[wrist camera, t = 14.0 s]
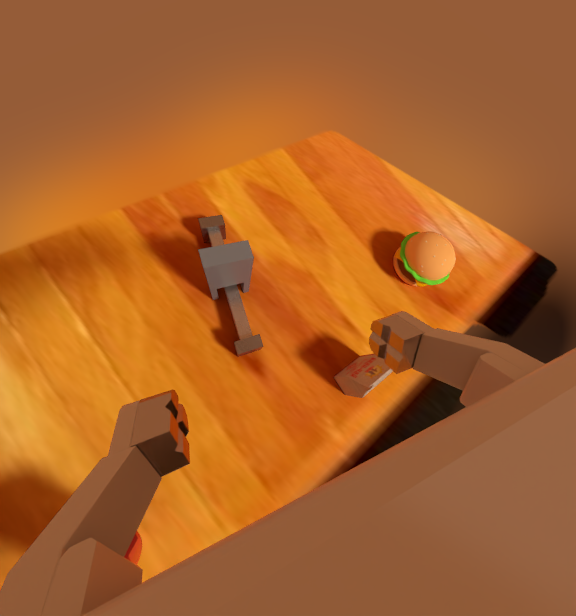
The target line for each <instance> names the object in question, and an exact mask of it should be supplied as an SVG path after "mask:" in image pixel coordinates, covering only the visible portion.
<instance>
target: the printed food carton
mask: <svg viewBox="0 0 576 616" xmlns="http://www.w3.org/2000/svg"><path fill="white" fill-rule="evenodd" d="M392 371H393V370H391V369H390V368H389V367H388V366H387V365H386V364H385V361H384V359H383V358H380V357H377V356H376V355H375V354H369V355H363V356H359V357H358V358H357V359H355V360H354V361H353V362H352V363H350V364H349V365H348V366H347V367H345V368H344V369H343V370H342V371H340V372H339V373H338V374H336V375H335V376H334V379H335V380H336V382H337V383H338V385H339V386H340V388H341V389H342V391H343V392H344V394H345V395H348V396H354V397H360V398H363V397H364V396H365V395H366V394H367V393H368V392H370V391H371V390H372V389H373V388H374V387H375V386H376V385H378V384H379V383H380V382H381V381H382V380H383V379H384V378H386V377H387V376H388V375H389V374H390V373H391V372H392Z"/></svg>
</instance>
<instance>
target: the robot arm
mask: <svg viewBox="0 0 576 616" xmlns="http://www.w3.org/2000/svg"><path fill="white" fill-rule="evenodd" d="M371 330H372V331H373V333H372V334H371V336H370V337H369V345H370V348H371V350H372V351H373V353H374V354H375V355H376V356H377V357H380V358H383V359H384V361H385V364H386V365H387V366H388V367H389V368H390V369H391V370H393V371H394V372H395V373H396V374H398V373H400V372H403V371H405V370H408V369H410V368H413V369H415V370H417V371H419V372H422V373H424V374H426V375H429V376H431V377H433V378H435V379H438V380H440V381H442V382H445V383H447V384H449V385H452V386H454V387H456V388H459V389H461V390H463V393H462V395H461V397H460V402H461V403H462V404H463V405H465V406H466V408H464V409H462V410H460V411H459V412H457V413H455V414H453V415H451V416H449V417H447V418H445V419H444V420H442V421H440V422H438V423H436V424H434V425H432V426H431V427H429V428H427V429H425V430H423V431H421V432H420V433H418V434H416V435H414V436H412V437H410V438H408V439H407V440H405V441H403V442H401V443H399V444H397V445H396V446H394V447H392V448H390V449H388V450H386V451H385V452H383V453H381V454H379V455H377V456H375V457H373V458H372V459H370V460H368V461H366V462H364V463H362V464H361V465H359V466H357V467H355V468H353V469H351V470H349V471H348V472H346V473H344V474H342V475H340V476H338V477H337V478H335V479H333V480H331V481H329V482H327V483H325V484H324V485H322V486H320V487H318V488H316V489H314V490H313V491H311V492H309V493H307V494H305V495H303V496H301V497H300V498H298V499H296V500H294V501H292V502H290V503H289V504H287V505H285V506H283V507H281V508H279V509H278V510H276V511H274V512H272V513H270V514H268V515H266V516H265V517H263V518H261V519H259V520H257V521H255V522H254V523H252V524H250V525H248V526H246V527H244V528H242V529H241V530H239V531H237V532H235V533H233V534H231V535H230V536H228V537H226V538H224V539H222V540H220V541H219V542H217V543H215V544H213V545H211V546H209V547H207V548H206V549H204V550H202V551H200V552H198V553H196V554H195V555H193V556H191V557H189V558H187V559H185V560H183V561H182V562H180V563H178V564H176V565H174V566H172V567H171V568H169V569H167V570H165V571H163V572H161V573H160V574H158V575H156V576H154V577H152V578H150V579H148V580H147V581H145V582H143V583H142V571H143V570H142V569H141V568H140V567H139V566H138V565H136V564H134V563H133V562H131V561H129V560H128V559H126V558H124V556H125V554H126V552H127V550H128V548H129V546H130V544H131V542H132V539H133V537H134V535H135V533H136V531H137V529H138V527H139V525H140V523H141V521H142V519H143V516H144V514H145V512H146V510H147V508H148V506H149V504H150V502H151V500H152V498H153V496H154V494H155V491H156V489H157V487H158V485H159V483H160V481H161V479H162V478H161V477H162V476H164V475H166V474H168V473H171V472H173V471H175V470H177V469H179V468H181V467H184V466H186V465H188V464H190V456H189V443H188V441H187V439H186V435H187V434H188V432H189V428H188V420H187V415H186V412H185V409H184V407H183V405H182V404H179V403H178V395H177V393H176V392H175V390H170V391H167V392H164V393H160V394H157V395H154V396H151V397H148V398H145V399H141V400H140V401H136V402H133V403H130V404H127V405H124V406H122V408H121V409H120V411H119V415H118V419H117V423H116V426H115V430H114V434H113V438H112V442H111V446H110V450H109V454H108V456H107V457H104V458H102V459H101V460H100V461H99V463H98V464H97V465H96V466H95V468H94V469H93V470H92V471H91V472H90V474H89V475H88V476H87V477H86V479H85V480H84V481H83V482H82V483H81V485H80V486H79V487H78V488H77V490H76V491H75V492H74V493H73V495H72V496H71V497H70V498H69V499H68V501H67V502H66V503H65V504H64V506H63V507H62V508H61V509H60V510H59V512H58V513H57V514H56V515H55V517H54V518H53V519H52V520H51V521H50V523H49V524H48V525H47V526H46V528H45V529H44V530H43V531H42V532H41V534H40V535H39V536H38V537H37V539H36V540H35V541H34V542H33V543H32V545H31V546H30V547H29V548H28V550H27V551H26V552H25V553H24V555H23V556H22V557H21V558H20V559H19V561H18V562H17V563H16V564H15V566H14V567H13V568H12V569H11V570H10V572H9V573H8V575H7V577H6V579H5V581H4V584H3V586H2V588H1V591H0V616H576V348H575V349H573V350H571V351H569V352H568V353H565V354H564V355H562V356H560V357H558V358H556V359H554V360H552V361H551V362H549V363H547V364H544V363H542V362H540V361H538V360H536V359H534V358H532V357H530V356H529V355H527V354H525V353H523V352H521V351H519V350H517V349H515V348H513V347H511V346H509V345H507V344H506V343H501V342H497V341H492V340H487V339H483V338H478V337H474V336H469V335H465V334H460V333H456V332H451V331H447V330H442V329H438V328H437V329H433V328H432V327H430V326H428V325H427V324H425V323H423V322H422V321H420V320H418V319H417V318H415V317H413V316H412V315H410V314H408V313H407V312H404V311H401V312H398V313H395V314H392V315H390V316H387V317H384V318H381V319H378V320H375V321H373V322H372V324H371Z"/></svg>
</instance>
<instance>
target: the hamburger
mask: <svg viewBox="0 0 576 616" xmlns="http://www.w3.org/2000/svg"><path fill="white" fill-rule="evenodd" d="M455 259H456V258H455V252H454V248H453V246H452V244H451V243H450V242H449V241H448V240H447V239H446V238H445V237H443V236H442V235H440V234H437V233H435V232H422V233H420V232H414V233H412V234H409V235H408V236H406V237H405V238H404V240H403V241H402V243H401V247H399V248H398V249H397V251H396V252H395V254H394V258H393V265H394V269H395V271H396V273H397V275H398V276H399V277H400V279H401V280H403V281H404V282H405V283H407V284H409V285H412V286H417V287H422V286H426V285H436V284H440V283H442V282H444V281H445V280H447V279H448V277H449V274H450V271H451V270H452V268H453V266H454V264H455Z"/></svg>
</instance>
